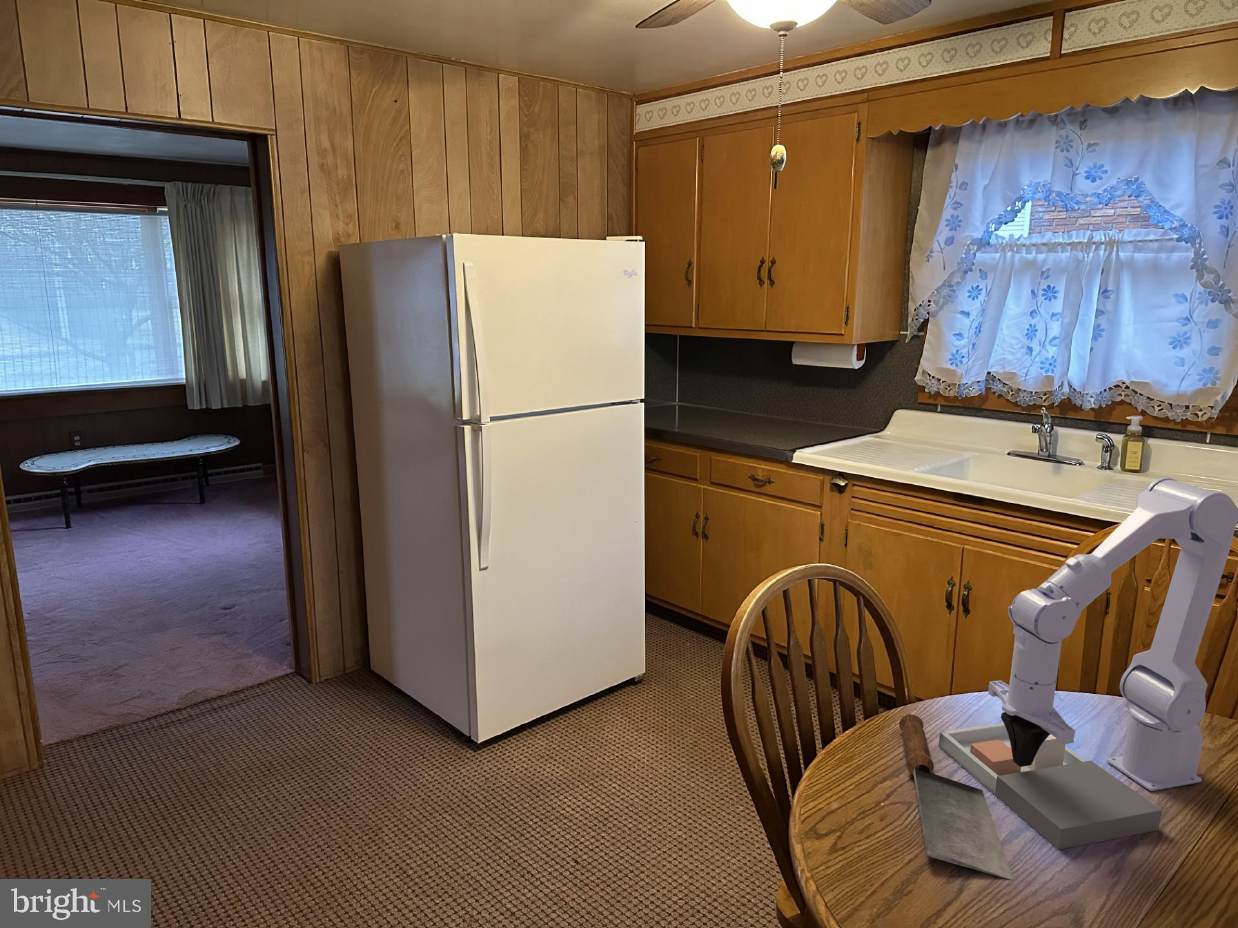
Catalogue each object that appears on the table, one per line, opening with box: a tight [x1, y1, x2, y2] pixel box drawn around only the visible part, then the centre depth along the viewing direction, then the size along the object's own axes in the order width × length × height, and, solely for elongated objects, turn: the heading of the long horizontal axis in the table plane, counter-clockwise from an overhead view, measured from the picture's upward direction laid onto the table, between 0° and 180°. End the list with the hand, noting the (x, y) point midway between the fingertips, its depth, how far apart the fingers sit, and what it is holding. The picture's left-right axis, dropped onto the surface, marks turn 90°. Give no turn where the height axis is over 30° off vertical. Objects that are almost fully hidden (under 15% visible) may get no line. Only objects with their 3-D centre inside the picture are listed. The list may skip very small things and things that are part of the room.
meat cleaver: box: [898, 713, 1014, 881], centre depth 119 cm, size 34×11×4 cm, turn 168°
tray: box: [938, 722, 1087, 796], centre depth 127 cm, size 16×13×2 cm
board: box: [994, 760, 1163, 850], centre depth 115 cm, size 16×12×3 cm
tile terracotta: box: [970, 740, 1021, 776], centre depth 125 cm, size 5×5×2 cm
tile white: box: [1027, 734, 1067, 770], centre depth 125 cm, size 5×5×2 cm
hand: (1022, 763), depth 120 cm, fingers closed
